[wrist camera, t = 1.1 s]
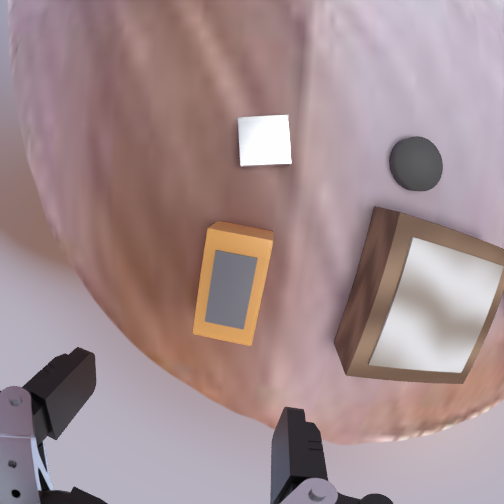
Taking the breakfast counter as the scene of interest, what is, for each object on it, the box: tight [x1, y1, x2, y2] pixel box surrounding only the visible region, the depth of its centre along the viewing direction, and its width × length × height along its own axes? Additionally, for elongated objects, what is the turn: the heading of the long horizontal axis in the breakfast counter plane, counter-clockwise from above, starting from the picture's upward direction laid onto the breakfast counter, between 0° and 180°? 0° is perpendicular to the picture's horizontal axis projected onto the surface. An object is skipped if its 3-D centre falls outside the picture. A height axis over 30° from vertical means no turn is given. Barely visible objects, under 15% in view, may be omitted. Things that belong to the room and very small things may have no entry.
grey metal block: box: [238, 115, 291, 168], centre depth 25 cm, size 4×4×3 cm
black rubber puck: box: [390, 137, 443, 191], centre depth 25 cm, size 5×5×2 cm
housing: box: [193, 221, 274, 346], centre depth 26 cm, size 9×5×5 cm, turn 169°
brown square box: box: [334, 207, 504, 384], centre depth 25 cm, size 14×14×6 cm
